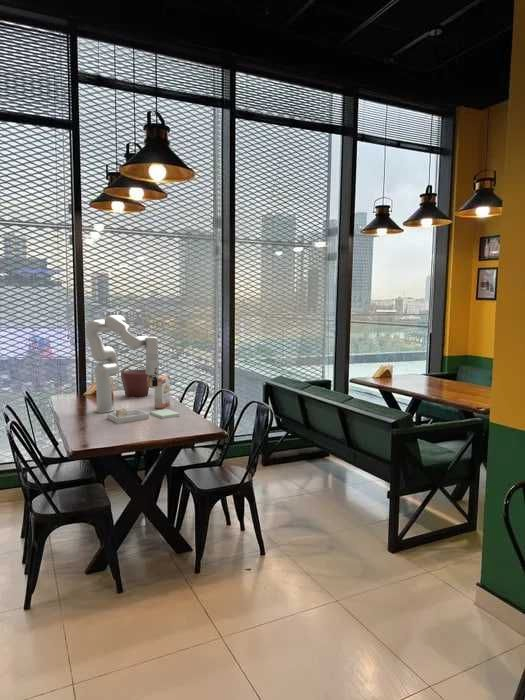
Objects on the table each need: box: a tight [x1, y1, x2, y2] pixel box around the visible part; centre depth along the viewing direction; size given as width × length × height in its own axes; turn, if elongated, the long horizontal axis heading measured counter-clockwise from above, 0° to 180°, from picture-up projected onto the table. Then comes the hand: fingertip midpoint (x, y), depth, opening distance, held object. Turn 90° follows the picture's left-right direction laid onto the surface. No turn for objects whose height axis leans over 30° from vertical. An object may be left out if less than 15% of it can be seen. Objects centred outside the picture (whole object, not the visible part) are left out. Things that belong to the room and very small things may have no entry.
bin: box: [107, 408, 150, 424], centre depth 305 cm, size 16×20×4 cm
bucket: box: [120, 362, 150, 399], centre depth 376 cm, size 24×22×25 cm
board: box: [149, 408, 180, 419], centre depth 315 cm, size 16×12×2 cm
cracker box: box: [154, 374, 171, 410], centre depth 339 cm, size 14×6×21 cm, turn 168°
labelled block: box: [147, 376, 158, 389], centre depth 310 cm, size 5×5×6 cm
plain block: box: [115, 408, 128, 418], centre depth 302 cm, size 5×5×6 cm
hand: (152, 385), depth 310 cm, fingers closed on labelled block, 5 cm apart
